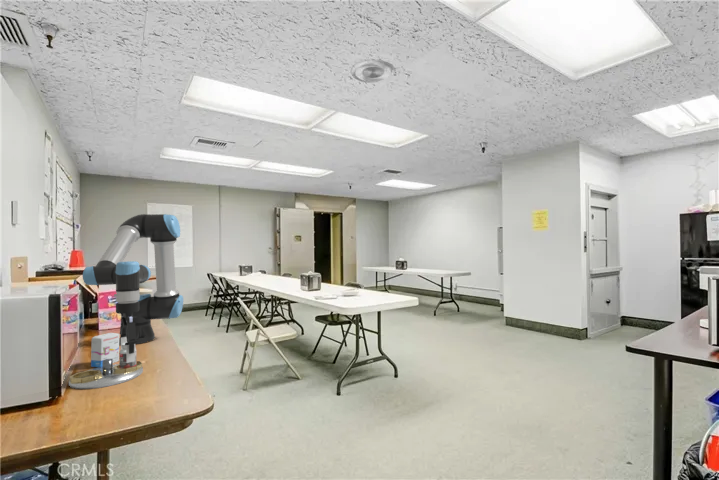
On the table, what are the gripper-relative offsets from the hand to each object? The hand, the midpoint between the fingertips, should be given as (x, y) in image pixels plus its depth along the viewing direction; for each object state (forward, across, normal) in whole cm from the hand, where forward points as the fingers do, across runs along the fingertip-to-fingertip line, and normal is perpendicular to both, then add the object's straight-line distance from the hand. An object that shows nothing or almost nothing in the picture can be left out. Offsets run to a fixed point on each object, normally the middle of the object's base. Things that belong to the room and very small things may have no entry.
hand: (127, 357), depth 132 cm
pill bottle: (+4, 0, 0) cm, 4 cm away
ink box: (+6, -18, -5) cm, 20 cm away
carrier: (+6, +1, -6) cm, 8 cm away
